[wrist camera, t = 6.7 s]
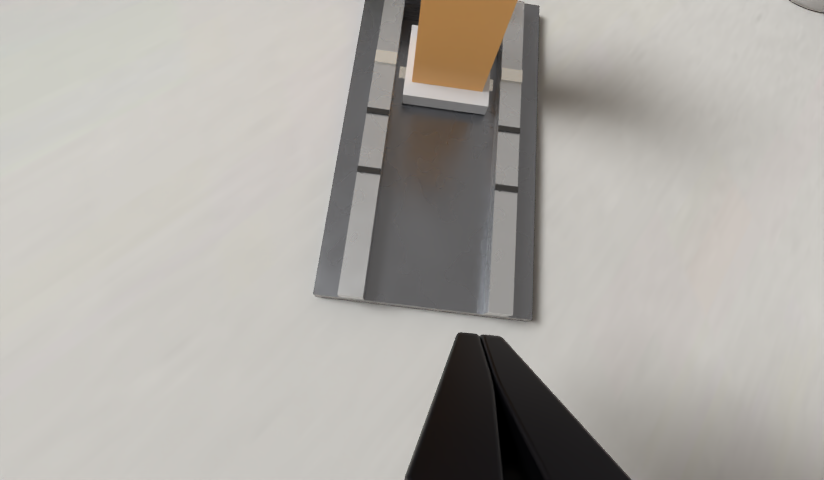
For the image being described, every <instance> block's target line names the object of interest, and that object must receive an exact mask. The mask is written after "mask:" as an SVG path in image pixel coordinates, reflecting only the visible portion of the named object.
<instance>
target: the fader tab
mask: <svg viewBox="0 0 824 480" xmlns="http://www.w3.org/2000/svg"><path fill="white" fill-rule="evenodd" d="M517 1H518V0H421V7H420V15H419V24H418V26H417V25H412V29H411V37H410V44H409V52H408V60H407V67H406V75H405V82H404V90H403V98H402V103H404V104H411V105H418V106H425V107H432V108H440V109H447V110H454V111H461V112H468V113H475V114H483V115H485V113H486V111H487V108H488V103H489V87H490V71H491V68H492V65H493V63H494V60H495V57H496V55H497V52H498V50H499V47H500V45H501V42H502V39H503V37H504V34H505V32H506V29H507V26H508V24H509V21H510V19H511V16H512V14H513V11H514V8H515V6H516V3H517Z"/></svg>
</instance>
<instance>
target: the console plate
mask: <svg viewBox="0 0 824 480" xmlns="http://www.w3.org/2000/svg"><path fill="white" fill-rule="evenodd" d="M420 7H421V0H365V4H364V10H363V16H362V21H361V27H360V32H359V38H358V44H357V49H356V55H355V61H354V66H353V72H352V78H351V83H350V89H349V94H348V100H347V106H346V111H345V117H344V123H343V128H342V134H341V140H340V145H339V151H338V156H337V162H336V168H335V173H334V179H333V185H332V190H331V196H330V202H329V207H328V213H327V218H326V224H325V230H324V235H323V241H322V247H321V252H320V258H319V263H318V269H317V275H316V280H315V286H314V292H313V295H315V296H316V297H325V298H333V299H342V300H350V301H359V302H367V303H376V304H384V305H393V306H401V307H410V308H418V309H427V310H435V311H444V312H452V313H461V314H469V315H478V316H486V317H495V318H503V319H512V320H520V321H530V320H532V301H533V258H534V214H535V171H536V128H537V85H538V41H539V6H537V5H531V4H524V2H521V1H517V3H516V6H515V8H514V11H513V14H512V16H511V19H510V21H509V24H508V26H507V29H506V32H505V34H504V37H503V39H502V42H501V45H500V47H499V50H498V52H497V55H496V57H495V60H494V63H493V65H492V68H491V71H490V87H489V103H488V108H487V111H486V113H485V115H483V114H475V113H468V112H461V111H454V110H447V109H440V108H432V107H425V106H418V105H411V104H404V103H402V98H403V90H404V82H405V75H406V67H407V60H408V52H409V44H410V37H411V29H412V25H417V26H418V24H419V15H420Z"/></svg>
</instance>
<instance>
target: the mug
mask: <svg viewBox="0 0 824 480" xmlns="http://www.w3.org/2000/svg"><path fill="white" fill-rule="evenodd" d="M790 1H792V2H793V3H795V4H797V5H799V6H802V7H804V8H806V9H810V10H813V11H817V12H824V0H790Z"/></svg>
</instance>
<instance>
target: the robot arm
mask: <svg viewBox="0 0 824 480" xmlns="http://www.w3.org/2000/svg"><path fill="white" fill-rule="evenodd" d="M405 480H631V479H630V478H629V476H628V475H627V474H626V473H625V472H624V471H623V470H622V469H621V468H620V467H619V465H618V464H617V463H616V462H615V461H614V460H613V459H612V458H611V457H610V455H609V454H608V453H607V452H606V451H605V450H604V449H603V448H602V447H601V446H600V444H599V443H598V442H597V441H596V440H595V439H594V438H593V437H592V436H591V435H590V433H589V432H588V431H587V430H586V429H585V428H584V427H583V426H582V425H581V424H580V422H579V421H578V420H577V419H576V418H575V417H574V416H573V415H572V414H571V413H570V411H569V410H568V409H567V408H566V407H565V406H564V405H563V404H562V403H561V402H560V400H559V399H558V398H557V397H556V396H555V395H554V394H553V393H552V392H551V391H550V389H549V388H548V387H547V386H546V385H545V384H544V383H543V382H542V381H541V379H540V378H539V377H538V376H537V375H536V374H535V373H534V372H533V371H532V370H531V368H530V367H529V366H528V365H527V364H526V363H525V362H524V361H523V360H522V359H521V357H520V356H519V355H518V354H517V353H516V352H515V351H514V350H513V349H512V348H511V346H510V345H509V344H508V343H507V342H506V341H505V340H504V339H503V338H502V337H500V336H493V335H481V336H478V335H477V334H472V333H461V332H460V333H458V334H457V336H456V338H455V341H454V344H453V346H452V349H451V352H450V355H449V357H448V360H447V363H446V366H445V368H444V371H443V374H442V377H441V379H440V382H439V385H438V388H437V390H436V393H435V396H434V399H433V401H432V404H431V407H430V409H429V412H428V415H427V418H426V420H425V423H424V426H423V429H422V431H421V434H420V437H419V440H418V442H417V445H416V448H415V451H414V453H413V456H412V459H411V462H410V464H409V467H408V470H407V473H406V475H405Z"/></svg>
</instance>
